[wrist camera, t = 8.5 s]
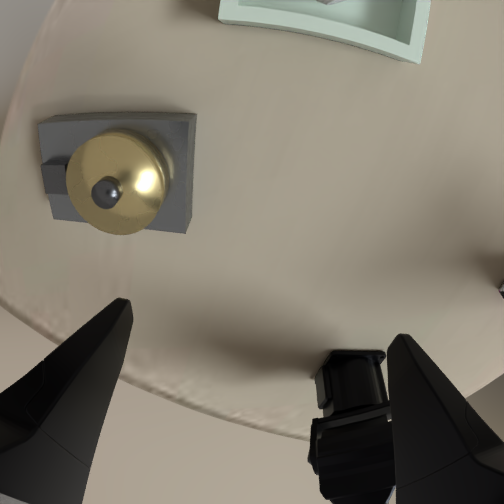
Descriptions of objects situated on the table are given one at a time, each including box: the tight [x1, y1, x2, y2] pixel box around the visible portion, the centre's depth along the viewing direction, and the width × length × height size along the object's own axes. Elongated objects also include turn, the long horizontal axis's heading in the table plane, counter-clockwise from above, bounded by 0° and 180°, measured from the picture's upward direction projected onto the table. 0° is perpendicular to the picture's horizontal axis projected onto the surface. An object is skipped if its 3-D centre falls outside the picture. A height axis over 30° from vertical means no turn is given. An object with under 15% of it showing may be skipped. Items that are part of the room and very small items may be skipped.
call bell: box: [38, 112, 197, 235], centre depth 16 cm, size 10×7×4 cm
